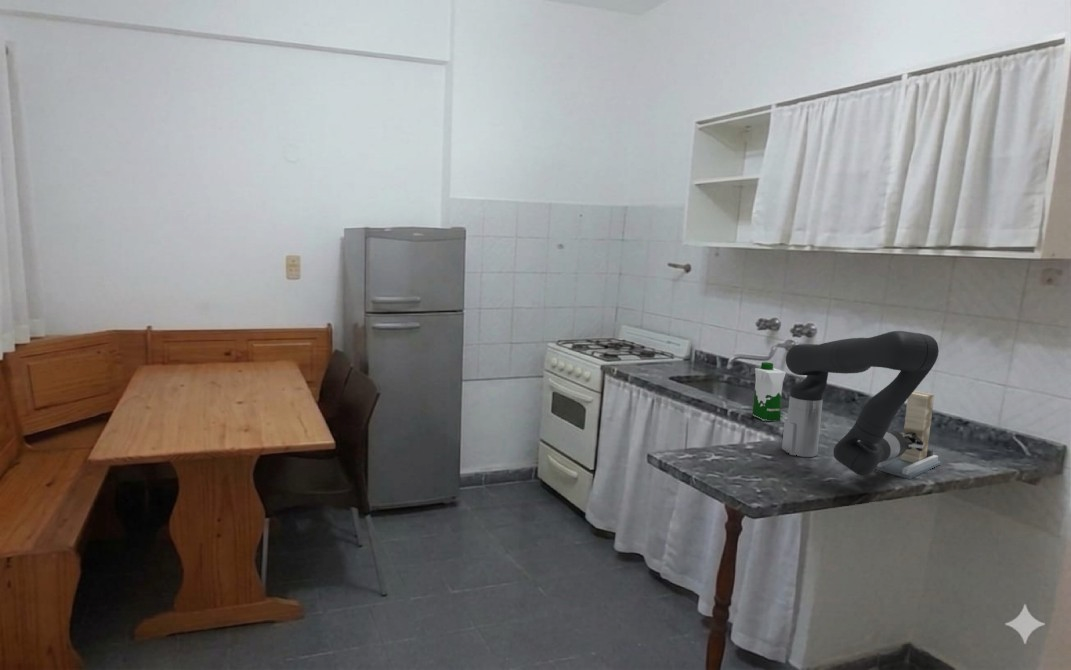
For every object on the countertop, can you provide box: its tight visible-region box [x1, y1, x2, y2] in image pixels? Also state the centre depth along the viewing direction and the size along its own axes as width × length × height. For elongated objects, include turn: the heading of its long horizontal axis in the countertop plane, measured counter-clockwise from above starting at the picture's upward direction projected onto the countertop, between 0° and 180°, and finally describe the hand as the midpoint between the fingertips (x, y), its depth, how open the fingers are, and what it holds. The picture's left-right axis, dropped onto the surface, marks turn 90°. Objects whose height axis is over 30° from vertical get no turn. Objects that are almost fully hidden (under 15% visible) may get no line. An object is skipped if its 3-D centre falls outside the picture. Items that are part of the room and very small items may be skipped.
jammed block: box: [900, 390, 935, 463], centre depth 189 cm, size 5×5×20 cm
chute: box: [875, 448, 942, 480], centre depth 188 cm, size 21×10×4 cm, turn 128°
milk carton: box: [752, 361, 787, 421], centre depth 235 cm, size 9×9×20 cm
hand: (912, 435), depth 188 cm, fingers closed
